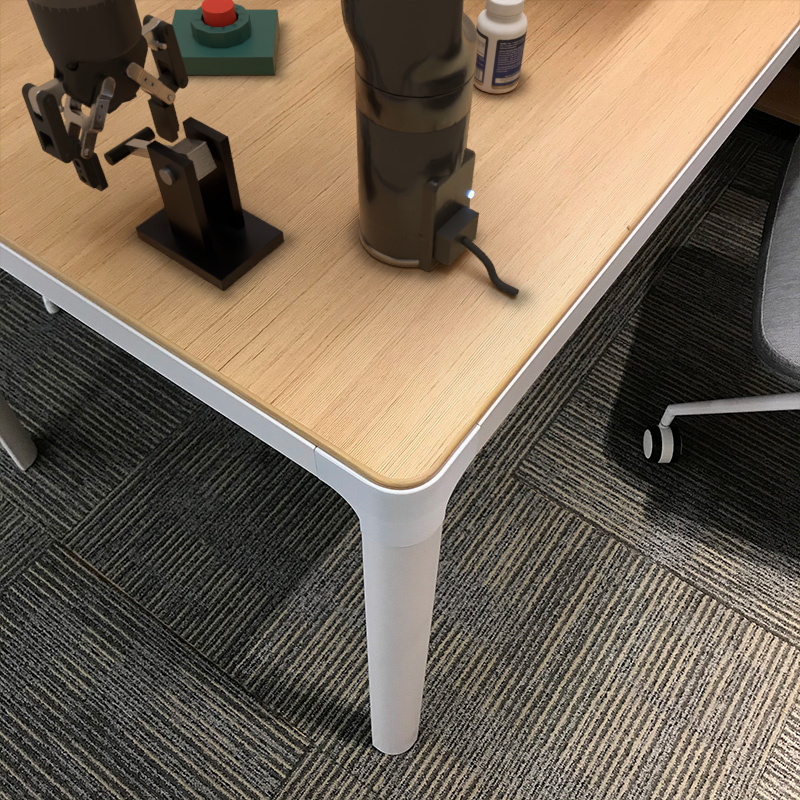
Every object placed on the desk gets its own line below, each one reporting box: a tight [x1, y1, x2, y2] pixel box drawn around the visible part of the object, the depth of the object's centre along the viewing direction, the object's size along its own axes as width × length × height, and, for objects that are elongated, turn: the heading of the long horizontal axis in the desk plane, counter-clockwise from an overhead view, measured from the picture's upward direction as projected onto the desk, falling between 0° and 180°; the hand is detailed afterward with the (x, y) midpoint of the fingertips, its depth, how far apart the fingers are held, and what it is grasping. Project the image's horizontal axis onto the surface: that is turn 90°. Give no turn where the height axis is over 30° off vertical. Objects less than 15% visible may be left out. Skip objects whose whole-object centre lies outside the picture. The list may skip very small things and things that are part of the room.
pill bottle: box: [474, 0, 529, 94], centre depth 83 cm, size 5×5×10 cm
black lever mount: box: [135, 116, 285, 291], centre depth 67 cm, size 11×8×11 cm
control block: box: [171, 2, 280, 76], centre depth 88 cm, size 12×10×4 cm
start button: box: [200, 0, 236, 27], centre depth 86 cm, size 4×4×2 cm
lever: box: [103, 126, 217, 181], centre depth 66 cm, size 11×5×2 cm, turn 53°
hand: (134, 161), depth 69 cm, fingers open, 8 cm apart
